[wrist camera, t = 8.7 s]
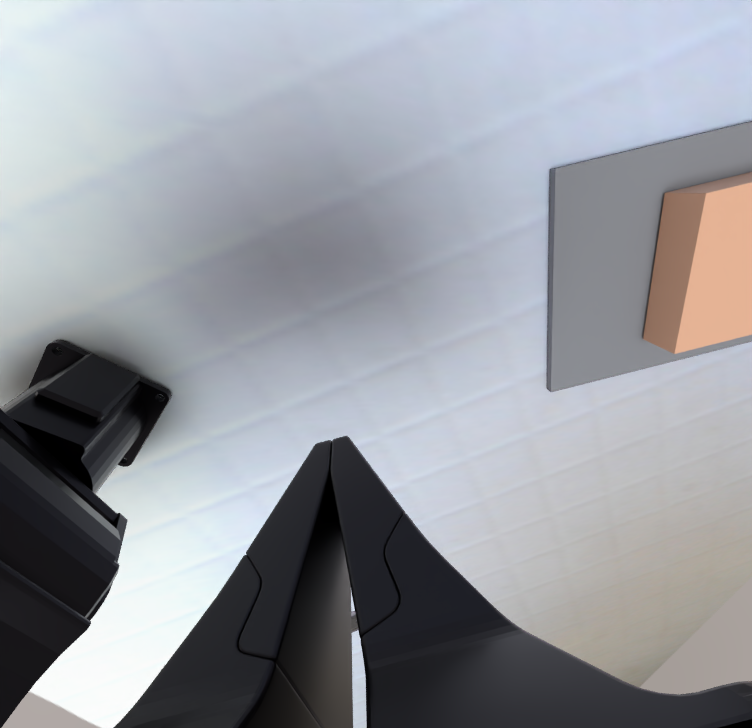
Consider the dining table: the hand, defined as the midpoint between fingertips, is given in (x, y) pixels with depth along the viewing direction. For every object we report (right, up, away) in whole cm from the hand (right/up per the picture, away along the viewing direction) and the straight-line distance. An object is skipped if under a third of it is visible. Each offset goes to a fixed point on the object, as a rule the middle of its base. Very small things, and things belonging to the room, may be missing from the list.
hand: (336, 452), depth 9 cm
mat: (+19, +9, +13) cm, 25 cm away
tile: (+18, +7, +12) cm, 23 cm away
